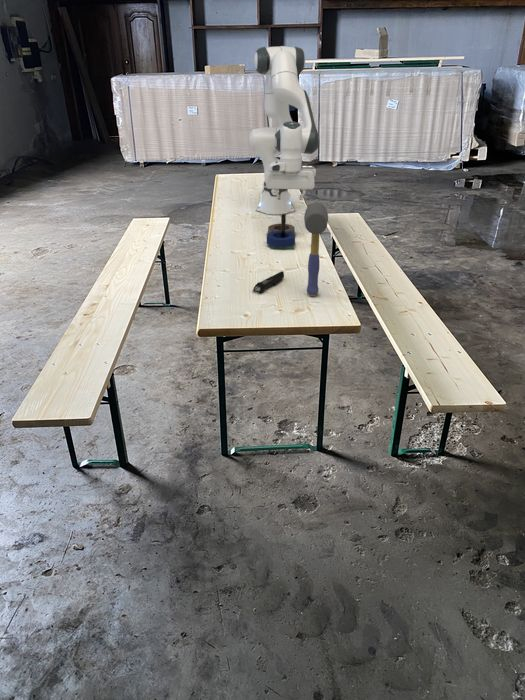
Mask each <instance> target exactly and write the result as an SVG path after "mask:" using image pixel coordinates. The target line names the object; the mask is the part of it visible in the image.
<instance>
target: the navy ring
mask: <svg viewBox="0 0 525 700" xmlns="http://www.w3.org/2000/svg"><path fill="white" fill-rule="evenodd" d="M295 243H296V234H294V233H292V232H288V231H285V238H281V231H273V232H270V233H268V232H267V234H266V244H267V245H268V246H270V247H272V246H273V247H289V246H292V245H294V246H295Z"/></svg>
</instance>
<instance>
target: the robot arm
mask: <svg viewBox="0 0 525 700" xmlns="http://www.w3.org/2000/svg"><path fill="white" fill-rule="evenodd" d="M253 64H254V68H255V71H256V72H257V73H258V74H260V75H265V80H264V90H263V91H264V97H263V98H264V104H263V105H264V107H263V109H264V110H263V111H264V114H265V115H266V116H267V117H268V118H270V119H272V120H274V121H276V123H277V126H262V127H257V128H253V129H252V130H251V131H250V133H249V135H248V144H249V147H250V148H251V150H252V151H253V152H254V153H256V154H257V156H258V157H259V158H260V159H261V163H262V165H263V174H264V181H263V184H262V185H263V186H262V187H263V190H262V192H261V193H260V202H259V204H258V207H257V208H256V211H257V212H261V213H263V214H267V215H274V216H275V215H281V214H289V213H293V212H295V208H294V207H293V205H292V200H291V199H292V198H291V197H292V195H291V193H290V192H289V191H288V190H302V193H301V194H299V197H298V198H299V201H304V196H305V195H306V193H307V190H314V189H315V187H316V183H315V178H316V175H317V169H316V167H315V166H313V165H302V164H303V163H302V162H303V156H302V155H303V154H305V155H312V154H314V153H315V152H316V151H317V150H318V149H319V148H320V136H319V131H318V128H317V126H316V123H315V119H314V118H315V117H314V114H313V110H312V105H311V102H310V101H311V100H310V97H309V95H308V92H307V91H306V90H305V89H303V87H302V86H301V84H300V82H299V78H298V76H299V75H300V74H301V73H302V72H303V71H304V68H305V65H306V55H305V51H304V50H303V48H301V47H298V46H293V47H292V46H285V45H279V46H268V47H266V46H261V47H259V48H257V50H255V55H254V59H253ZM290 106H292V107H294V108H296V109H297V110H298V111H299V112H300V114H301V118H302V122H303V126H304V127H302V124H301V123H300V122H298V121H293V118H292V116H291V114H290ZM275 153H280V156H279V158H278V157H276V156H275Z"/></svg>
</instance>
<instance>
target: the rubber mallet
mask: <svg viewBox="0 0 525 700" xmlns="http://www.w3.org/2000/svg"><path fill="white" fill-rule="evenodd" d="M303 216H304V217H303V221H304V228H305V229H306V230H307V232H308V233H310V234H311V237H310V238H311V241H310V253H309V256H308V261H307V275H308V276H307V278H308V279H307V287H306V294H307V295H308V296H309V297H317V295H318V293H319V273H320V251H319V250H320V234H322V233H323V232H325V231H326V229H327V227H328V223H329V213H328V210H327V208H326V206H325V205H324V204H323V203H321V202H316V201H315V202H312V203H310V204H309V205H308V206H306V209H305V212H304V215H303Z"/></svg>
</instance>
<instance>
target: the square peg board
mask: <svg viewBox="0 0 525 700" xmlns="http://www.w3.org/2000/svg"><path fill="white" fill-rule="evenodd" d="M280 215H281V216H280V218H281V219H280V224H281V238H285V230H286V224H287V222H286V221H287V213H285V214H280ZM294 249H295V244H294V245H292V246H289V247H273V246H271V250H294Z"/></svg>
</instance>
